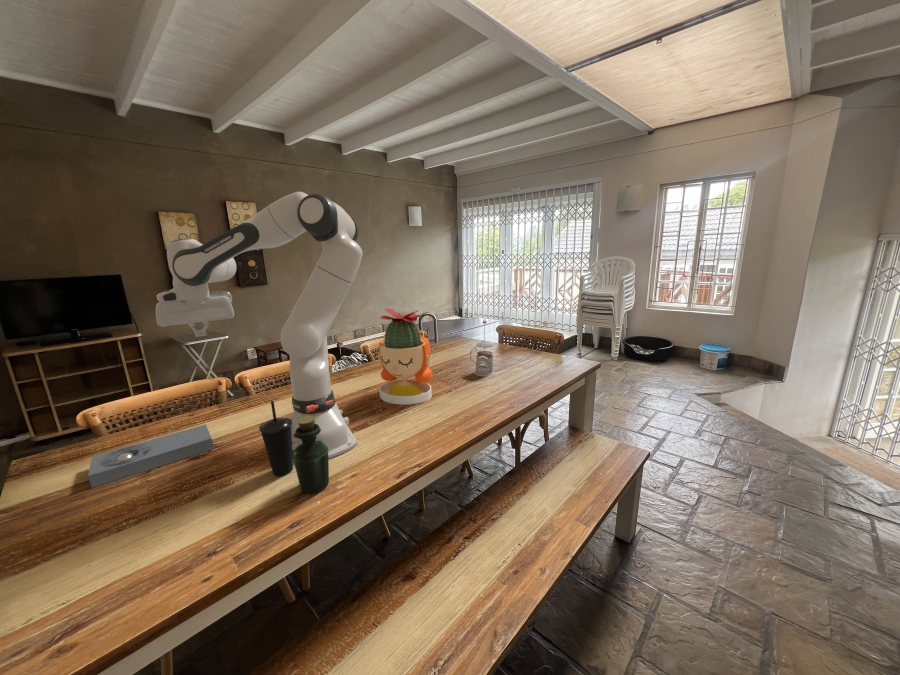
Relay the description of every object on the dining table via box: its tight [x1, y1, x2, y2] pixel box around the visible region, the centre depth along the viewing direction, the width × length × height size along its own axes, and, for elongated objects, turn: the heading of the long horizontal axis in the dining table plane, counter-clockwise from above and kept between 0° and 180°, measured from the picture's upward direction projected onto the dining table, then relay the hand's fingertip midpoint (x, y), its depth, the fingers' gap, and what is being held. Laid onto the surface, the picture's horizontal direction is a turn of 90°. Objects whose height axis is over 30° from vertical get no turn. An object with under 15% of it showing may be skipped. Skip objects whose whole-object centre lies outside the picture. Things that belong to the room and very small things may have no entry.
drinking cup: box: [258, 400, 294, 477], centre depth 90 cm, size 8×8×20 cm
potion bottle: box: [292, 416, 330, 495], centre depth 84 cm, size 8×8×18 cm
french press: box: [469, 320, 496, 377], centre depth 160 cm, size 10×12×25 cm
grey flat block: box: [87, 423, 215, 489], centre depth 100 cm, size 26×12×4 cm, turn 131°
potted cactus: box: [377, 308, 434, 406], centre depth 138 cm, size 22×22×35 cm
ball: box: [116, 453, 134, 461], centre depth 96 cm, size 4×4×4 cm
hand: (201, 335), depth 112 cm, fingers closed
